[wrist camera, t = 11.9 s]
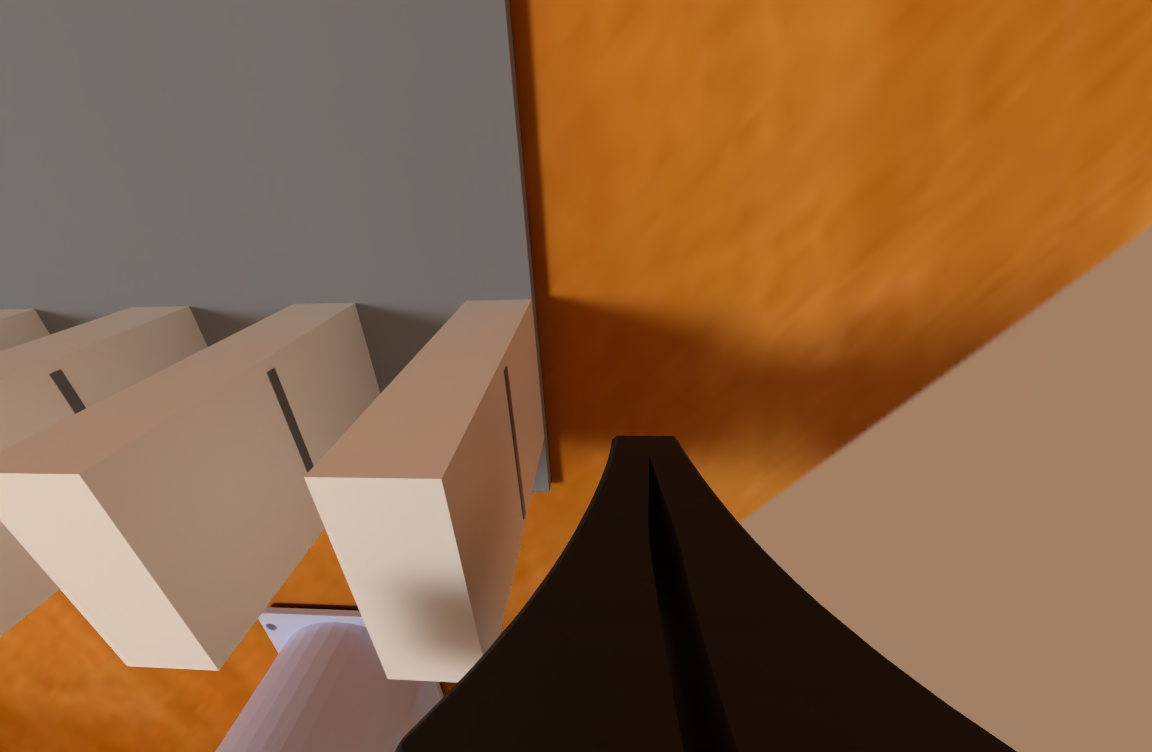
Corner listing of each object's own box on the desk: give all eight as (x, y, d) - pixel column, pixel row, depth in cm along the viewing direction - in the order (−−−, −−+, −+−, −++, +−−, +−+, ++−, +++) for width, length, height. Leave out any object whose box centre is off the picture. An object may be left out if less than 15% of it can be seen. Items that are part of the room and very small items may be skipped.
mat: (551, 481, 17) (549, 492, 17) (-44, 473, 19) (-62, 483, 19) (502, -81, 10) (496, -93, 9) (-455, 4, 12) (-503, -3, 11)
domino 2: (355, 302, 14) (80, 474, 7) (393, 436, 16) (220, 671, 9) (292, 303, 14) (-43, 472, 7) (338, 436, 16) (125, 665, 9)
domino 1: (189, 306, 14) (-237, 470, 7) (249, 435, 16) (-25, 658, 9) (130, 307, 14) (-347, 468, 7) (197, 435, 16) (-111, 654, 9)
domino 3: (532, 299, 13) (444, 478, 6) (545, 437, 15) (490, 684, 8) (465, 300, 13) (301, 477, 6) (487, 437, 16) (386, 679, 9)
